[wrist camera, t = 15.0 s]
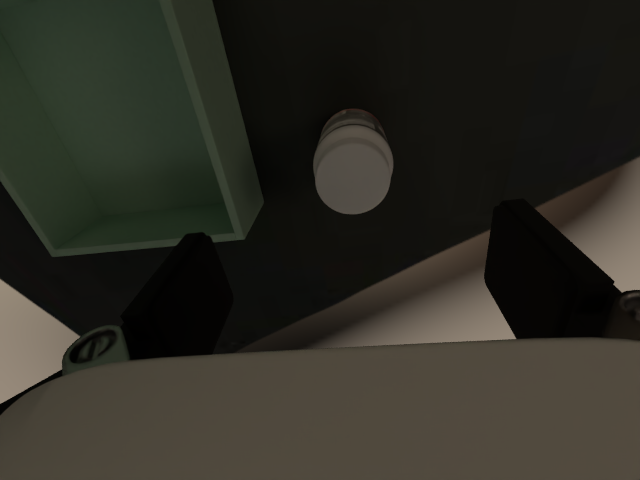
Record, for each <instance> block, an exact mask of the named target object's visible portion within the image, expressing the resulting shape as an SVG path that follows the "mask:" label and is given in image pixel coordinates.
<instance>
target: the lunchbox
mask: <svg viewBox="0 0 640 480" xmlns="http://www.w3.org/2000/svg"><path fill="white" fill-rule="evenodd" d="M0 181H1V182H2V184H3V185H4V187H5V188H6V190H7V191H8V193H9V194H10V195H11V197H12V198H13V200H14V201H15V203H16V204H17V206H18V207H19V209H20V210H21V212H22V213H23V215H24V216H25V217H26V219H27V220H28V222H29V223H30V225H31V226H32V228H33V229H34V231H35V232H36V234H37V235H38V236H39V238H40V239H41V241H42V242H43V244H44V245H45V247H46V248H47V250H48V251H49V253H50V254H51V256H52V257H56V256H68V255H79V254H90V253H101V252H112V251H123V250H134V249H145V248H156V247H166V246H176V245H177V244H178V243H179V242H180V240H181V239H182V238H183V237H184V235H185V234H188V233H197V232H204V233H205V234H206V235H207V236H208V235H209V236H210V237H211V238H212V241H213V242H221V241H232V240H241V239H245V237H246V235H247V234H248V232H249V230H250V228H251V226H252V224H253V222H254V220H255V218H256V216H257V215H258V213H259V211H260V209H261V207H262V205H263V203H264V200H263V196H262V192H261V188H260V184H259V180H258V176H257V172H256V169H255V165H254V161H253V157H252V153H251V149H250V145H249V141H248V137H247V134H246V130H245V126H244V122H243V118H242V114H241V110H240V106H239V103H238V99H237V95H236V91H235V87H234V83H233V79H232V75H231V72H230V68H229V64H228V60H227V56H226V52H225V48H224V44H223V41H222V37H221V33H220V29H219V25H218V21H217V17H216V13H215V10H214V6H213V2H212V0H0Z"/></svg>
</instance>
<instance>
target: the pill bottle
mask: <svg viewBox="0 0 640 480" xmlns="http://www.w3.org/2000/svg"><path fill="white" fill-rule="evenodd" d="M313 169H314V175H315V184H316V189H317V192H318V194H319V196H320V198H321V199H322V200H323V202H324V203H325V204H326V205H327V206H329V207H330V208H332V209H333V210H335V211H337V212H341V213H344V214H359V213H363V212H366V211H369V210H371V209H373V208H374V207H376V206H377V205H378V204H379V203H380V202H381V201H382V200H383V198H384V197H385V195H386V194H387V191H388V189H389V186H390V178H391V175H392V171H393V157H392V153H391V149H390V147H389V144H388V141H387V139H386V136H385V134H384V130H383V128H382V126H381V124H380V123H379V121H378V120H377V119H376V118H375V117H374V116H373V115H372V114H370V113H368V112H366V111H363V110H360V109H346V110H343V111H340V112H338V113H337V114H335V115H334V116H332V117H331V118H330V119H329V120H328V121H327V123H326V124H325V126H324V128H323V130H322V133H321V137H320V140H319V143H318V146H317V149H316V152H315V156H314V162H313Z"/></svg>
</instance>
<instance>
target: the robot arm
mask: <svg viewBox="0 0 640 480" xmlns="http://www.w3.org/2000/svg"><path fill="white" fill-rule="evenodd" d="M484 279H485V283H486V286H487V288H488V289H489V291H490V293H491V295H492V296H493V298H494V300H495V302H496V304H497V305H498V307H499V309H500V310H501V312H502V314H503V316H504V318H505V319H506V321H507V323H508V325H509V326H510V328H511V330H512V332H513V333H514V335H515V337H516V339H511V340H510V339H509V340H490V341H489V340H488V341H469V342H468V341H466V342H445V343H424V344H404V345H383V346H365V347H345V348H325V349H306V350H287V351H269V352H250V353H232V354H214V355H212V353H213V351H214V348H215V346H216V343H217V341H218V338H219V336H220V334H221V331H222V329H223V326H224V324H225V321H226V319H227V317H228V314H229V312H230V309H231V307H232V304H233V293H232V291H231V288H230V285H229V283H228V280H227V277H226V275H225V272H224V270H223V267H222V264H221V262H220V259H219V256H218V254H217V251H216V248H215V246H214V243H213V241H212V238H211V237H210V236H209V235H208V236H207V235H206V234H205V233H204V232H197V233H188V234H185V235H184V237H183V238H182V239H181V240H180V242H179V243H178V244H177V245H176V247H175V248H174V249H173V250H172V252H171V253H170V254H169V256H168V257H167V258H166V259H165V261H164V262H163V263H162V264H161V266H160V267H159V268H158V269H157V271H156V272H155V273H154V274H153V276H152V277H151V278H150V279H149V281H148V282H147V283H146V285H145V286H144V287H143V288H142V290H141V291H140V292H139V293H138V295H137V296H136V297H135V298H134V300H133V301H132V302H131V303H130V305H129V306H128V307H127V309H126V310H125V311H124V312H123V314H122V315H121V316H120V317H121V318H122V320H123V321H124V323H123V325H122V326H121V327H118V326H116V325H107V326H102V327H99V328H96V329H94V330H91V331H90V332H88V333H86V334H84V335H83V336H81V337H80V338H79V339H77V340H76V341H75V342H74V343H73V344H72V345H71V346H70V347H69V348H68V349H67V351H66V352H65V354H64V356H63V360H62V370H60V371H58V372H57V373H55V374H53V375H51V376H49V377H48V378H46V379H45V380H42V381H41V382H39V383H37V384H35V385H34V386H32V387H30V388H28V389H26V390H25V391H23V392H21V393H19V394H17V395H16V396H14V397H12V398H10V399H9V400H7V401H5V402H3V403H1V404H0V480H640V290H632V291H625V292H623V293H622V292H621V291H620V290H618V289H617V288H616V287H615V286H614V285H613V284H614V281H613V280H612V279H611V278H610V277H609V276H608V275H607V274H606V273H605V272H604V271H602V270H601V269H600V268H599V267H598V266H597V265H596V264H595V263H593V261H592V260H590V259H589V258H588V257H587V256H586V255H585V254H584V253H583V252H582V251H581V250H579V249H578V248H577V247H576V246H575V245H574V244H573V243H572V242H570V240H568V239H567V238H566V237H565V236H564V235H563V234H562V233H561V232H560V231H559V230H557V229H556V228H555V227H554V226H553V225H552V224H551V223H550V222H549V221H548V220H546V219H545V218H544V217H543V216H542V215H541V214H540V213H539V212H538V211H537V210H535V209H534V208H533V207H532V206H531V205H530V204H529V203H528V202H527V201H526V200H524V199H516V200H506V201H502V202H501V203H500V205H499V206H495V208H494V210H493V217H492V224H491V231H490V238H489V245H488V252H487V260H486V266H485V273H484Z"/></svg>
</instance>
